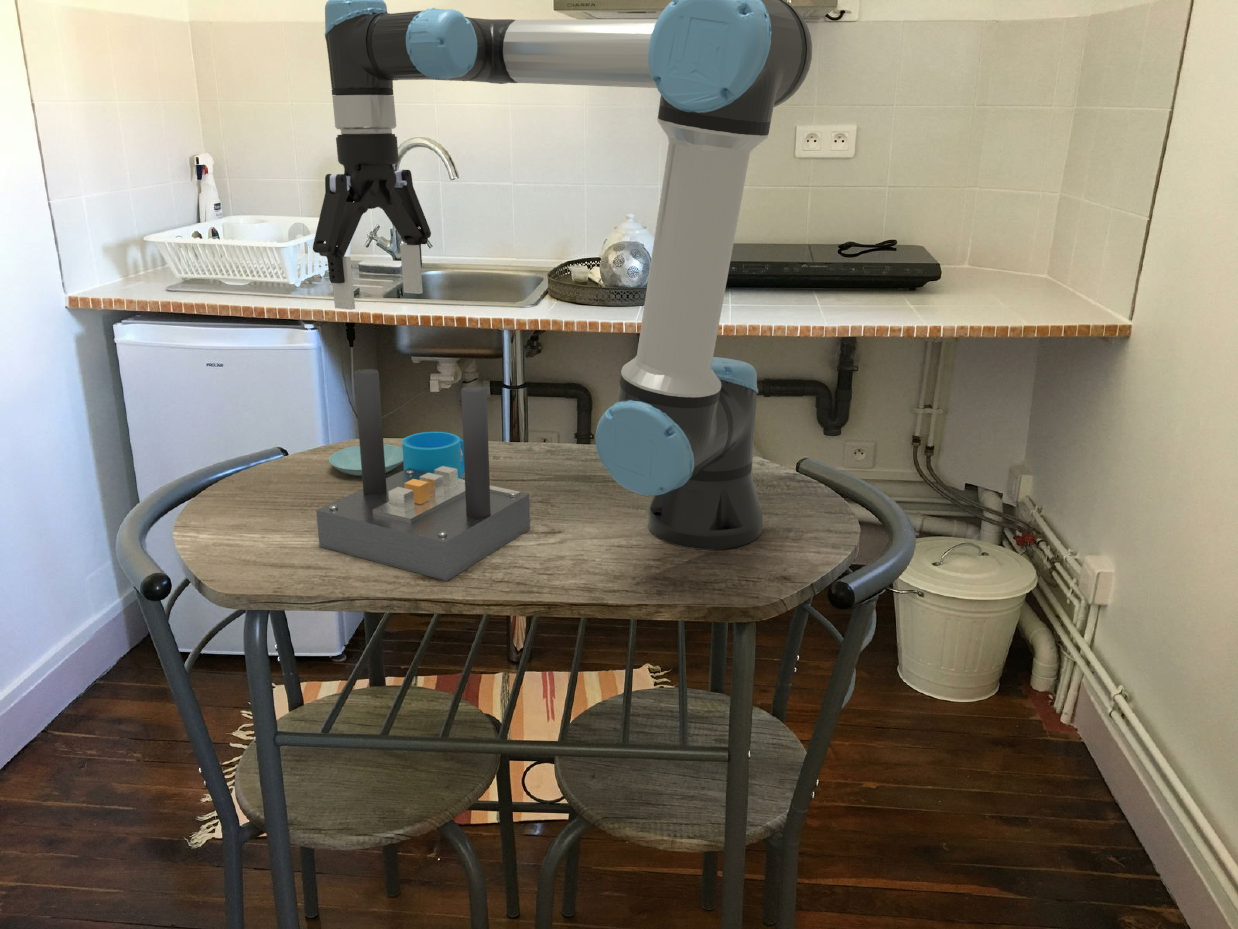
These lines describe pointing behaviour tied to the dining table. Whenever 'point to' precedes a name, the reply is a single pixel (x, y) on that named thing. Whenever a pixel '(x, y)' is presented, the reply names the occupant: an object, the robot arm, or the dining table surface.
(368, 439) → the dark grey upright post
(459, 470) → the mug
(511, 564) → the dining table surface
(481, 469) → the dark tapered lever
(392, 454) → the saucer
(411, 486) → the orange cube
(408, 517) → the breaker panel
